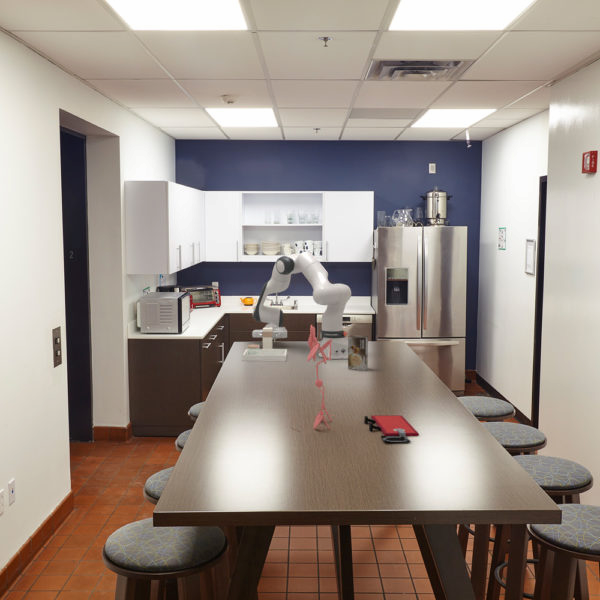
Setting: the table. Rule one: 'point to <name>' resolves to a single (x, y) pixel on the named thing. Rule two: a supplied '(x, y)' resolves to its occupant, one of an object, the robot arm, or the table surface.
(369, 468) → the table surface
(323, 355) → the figurine
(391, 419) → the red board with handle
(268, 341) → the juice carton
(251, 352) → the lidded jar
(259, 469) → the table surface
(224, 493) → the table surface
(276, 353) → the tray
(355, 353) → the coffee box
